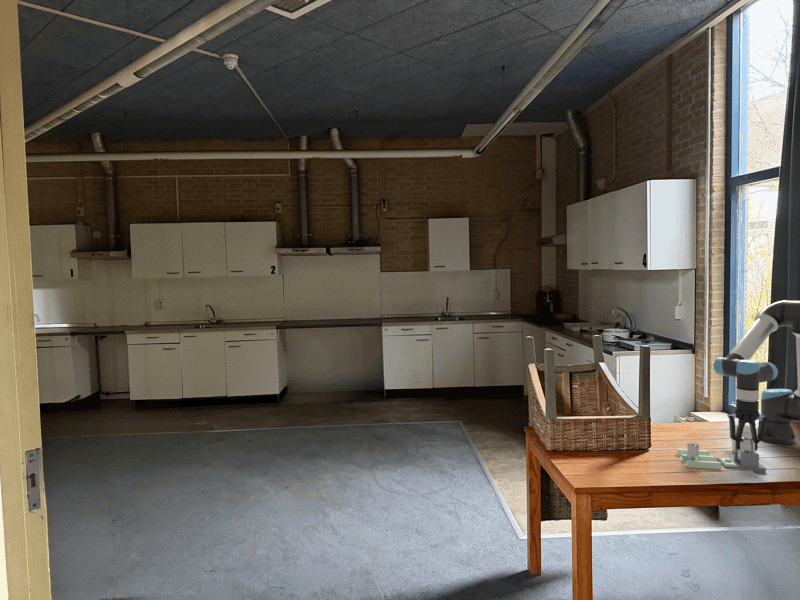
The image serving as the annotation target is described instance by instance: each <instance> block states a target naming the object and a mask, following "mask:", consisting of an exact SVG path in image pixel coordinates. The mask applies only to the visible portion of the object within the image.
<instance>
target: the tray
mask: <svg viewBox="0 0 800 600" xmlns="http://www.w3.org/2000/svg"><path fill="white" fill-rule="evenodd" d="M676 455H677V456H678V458H679V459H680V460H681V461H682V462H683V464H684V465H685V466H686V467H687V468H691V469H692V468H693V469H707V470H708V469H710V470H722V464H721V462H719V461H716V456H714V455H710V451H709V450H708V449H699V461H692V460H687V448H677V449H676Z"/></svg>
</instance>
